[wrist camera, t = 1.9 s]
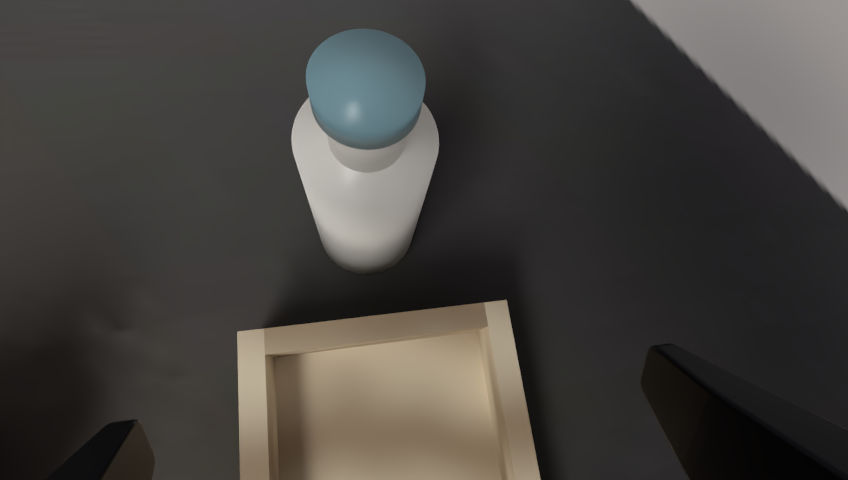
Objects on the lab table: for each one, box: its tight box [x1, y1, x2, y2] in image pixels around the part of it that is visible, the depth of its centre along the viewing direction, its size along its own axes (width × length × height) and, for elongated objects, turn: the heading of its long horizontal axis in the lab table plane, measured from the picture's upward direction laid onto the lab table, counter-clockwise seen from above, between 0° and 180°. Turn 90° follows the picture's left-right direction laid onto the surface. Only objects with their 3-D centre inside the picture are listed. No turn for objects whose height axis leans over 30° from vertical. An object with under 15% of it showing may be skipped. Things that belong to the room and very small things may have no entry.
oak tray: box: [237, 300, 541, 480], centre depth 19 cm, size 11×11×3 cm
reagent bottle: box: [292, 29, 439, 274], centre depth 17 cm, size 5×5×12 cm
